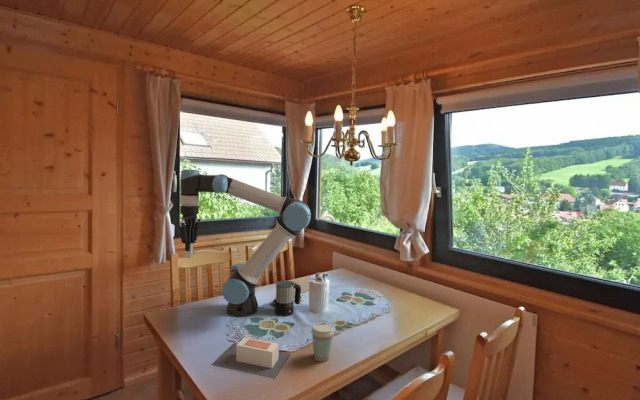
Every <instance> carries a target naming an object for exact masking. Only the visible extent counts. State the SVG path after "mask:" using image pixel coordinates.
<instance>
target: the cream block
mask: <svg viewBox="0 0 640 400" xmlns="http://www.w3.org/2000/svg"><path fill="white" fill-rule="evenodd" d="M279 345H280V344H279V343H276V342H270V341H266V340H260V339H255V338H250V337H243V338H242V339H241V340H240V341H239V342H238V343H237V345H236V361H239V362H244V363H249V364H253V365H258V366H263V367H268V368H273V366H274V365H275V363H276V362H277V360H278V355H279V352H280V350H279V349H280V346H279Z"/></svg>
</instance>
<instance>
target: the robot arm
mask: <svg viewBox="0 0 640 400" xmlns="http://www.w3.org/2000/svg"><path fill="white" fill-rule="evenodd" d="M179 181H180V206H179V208H180V209H179V210H180V214H181V215H182V216H181V221H178V222H177V225H178V228H179V234H180V240H181V243H182V244H185V245H184V246H185V247H184V249H185V250H184V251H185V259H192V258H193V257H194V244H195V243H196V241H197V239H198V235H199V234H198V233H199V227H200V223H201V219H200V218H198V216H197V215H198V214H199V213H200V209H199V208H200V205H199V204H200V200H199V199H200V193H216V194H222V193H225V194H228V195H230V196H232V197H233V196H234V197H236V198H238V199H242V200H243V201H246V202H249V203H252V204H255V205H257V206H260V207H263V208H265V209H268V210H270V211H274V212H276V213H277V214H278V217H277V219H276V220H275V222H276V225H275V226H274V228H273V229H272V230H271V231H270V233H268V235H267V236H266V238H264V240H263V241H262V242H261V244H260V245H259V246H258V247H257V248H256V249H255V251H254V252H253V253H252V254H251V256H250V257H249V258H248V260H247V261H245V263H235V264H232V265H231V267H230V276H229V277H228V278H227V280H226V281H225V282H224V283H223V285H222V289H221V292H222V296H223V298H224V300H225V301H226V302H227V305H226V313H227V314H228V315H230V316H233V317H249V316H251V315H254V314H256V313H257V312H258V310H259V304H258V301H257V297H256V286H257V285H258V284H259V277H260V276H261V275H262V274H263V272H264V271H265V270H266V269H267V268H268V266H269V265H270V264H271V263H272V261H273V260H274V259H275V258H276V257H277V255H278V254H279V253H280V252H281V251H282V250H283V248H284V247H285V246H286V244H287V243H288V242H289V241H290V240H291V239H292V238H297V237H298V236H299V234H300V233H301V232H302V231H303V229H305V228H307V227H308V226H309V224H310V222H311V218H312V213H311V209H310V207H309V205H308V203H306V202H305V201H304V200H300V199H296V198H292V197H289V196H286V195H285V196H281V195H278V194H274V193H272V192H269V191H268V190H264V189H261V188H259V187H256V186H253V185H250V184H249V183H245V182H243V181H240V180H237V179H234V178H232V177H229V176H227V175H226V174H213V175H212V174H200V171H199V170H198V169H182V170H181V172H180V180H179Z"/></svg>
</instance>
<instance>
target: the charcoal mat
mask: <svg viewBox="0 0 640 400" xmlns="http://www.w3.org/2000/svg"><path fill="white" fill-rule="evenodd" d="M237 344H238V343H236V342H233V343H232V344H231V345H230V346H229V347H228V348H227V349H225V351H223V353H221V355H220V356H218V357H217V358H216V360H214V361H213V362H212V363H211V366H214V367H219V368H224V369H228V370H234V371H237V372H243V373H247V374H251V375H255V376H256V375H257V376H261V377H266V378H270V379H273V380H275V379H276V378H277V376H278V375H279V373H280V372H281V370H282V369H283V368H284V366H285V365H286V363H287V361H289V358H290V357H291V353H288V352H283V351H279V355H278V360H277V362H276V363H275V365H274V366H273V368H268V367H263V366H258V365H253V364H249V363H244V362H239V361H236V345H237Z"/></svg>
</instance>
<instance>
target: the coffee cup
mask: <svg viewBox="0 0 640 400" xmlns="http://www.w3.org/2000/svg"><path fill="white" fill-rule="evenodd" d="M311 334H312V350H313V351H312V352H313V358H314V360H315V361H318V362H326V361H328V360H329V359H330V355H331V354H330V353H331V348H332V343H333V342H332V341H333V337H334V334H335V331H334V328H333V325H331V324H330V323H326V322H316V323H315V324H314V325H313V326H312V328H311Z"/></svg>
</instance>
